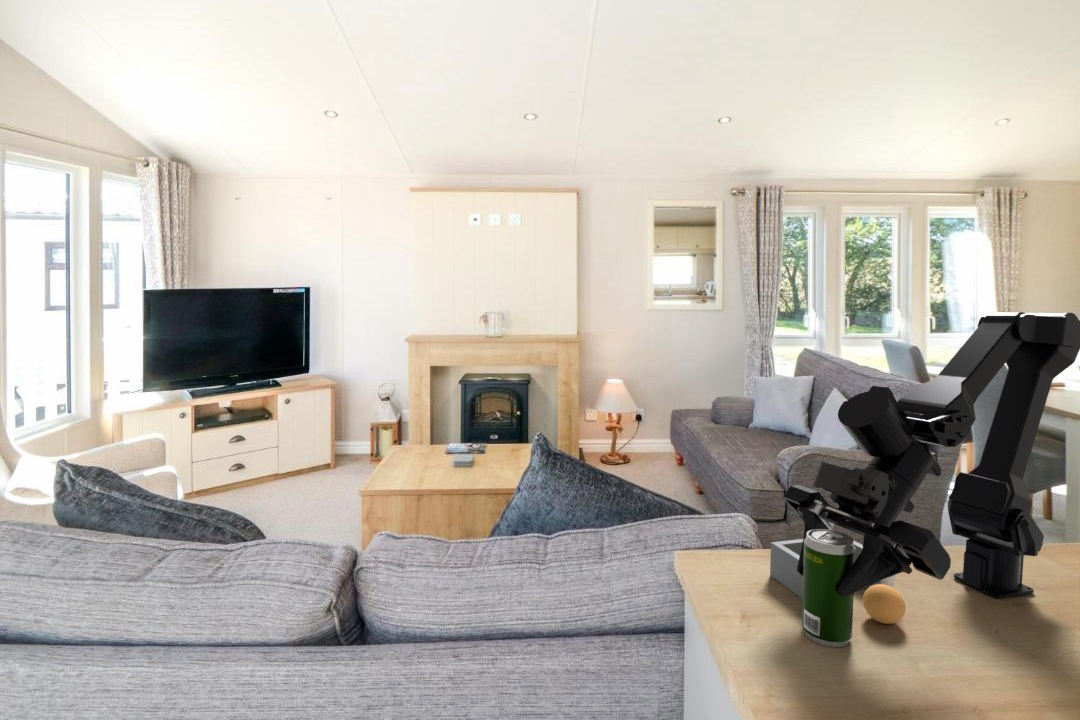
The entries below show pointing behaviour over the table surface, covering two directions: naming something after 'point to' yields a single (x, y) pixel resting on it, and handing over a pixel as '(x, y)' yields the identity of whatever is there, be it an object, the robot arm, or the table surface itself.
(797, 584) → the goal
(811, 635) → the beer can
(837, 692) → the table surface
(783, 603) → the table surface
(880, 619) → the ball
